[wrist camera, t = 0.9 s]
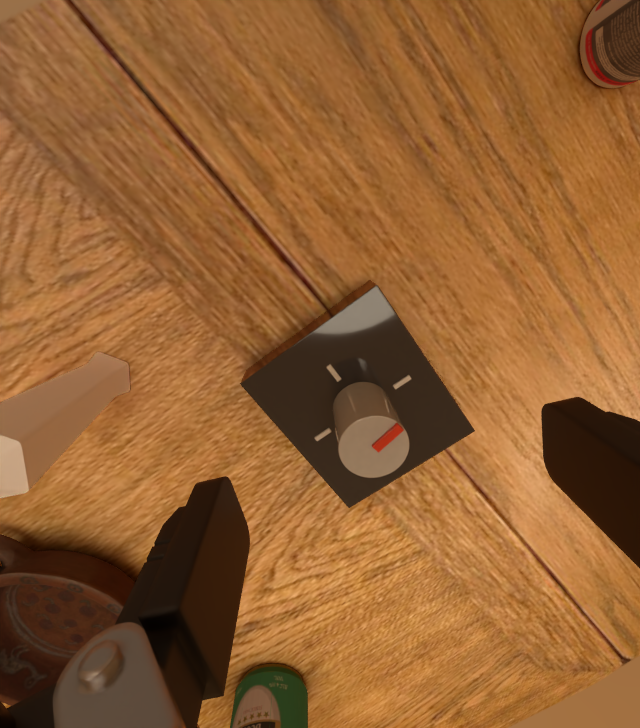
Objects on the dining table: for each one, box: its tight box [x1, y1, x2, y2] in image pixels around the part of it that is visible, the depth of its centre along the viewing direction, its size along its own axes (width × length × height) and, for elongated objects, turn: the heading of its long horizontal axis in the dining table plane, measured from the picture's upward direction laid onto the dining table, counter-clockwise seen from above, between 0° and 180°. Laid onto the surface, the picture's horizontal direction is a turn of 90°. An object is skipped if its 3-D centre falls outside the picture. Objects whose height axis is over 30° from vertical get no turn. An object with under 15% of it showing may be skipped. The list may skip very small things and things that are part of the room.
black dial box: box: [240, 280, 475, 508], centre depth 30 cm, size 14×12×3 cm
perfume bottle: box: [0, 352, 130, 498], centre depth 23 cm, size 5×4×15 cm
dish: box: [0, 534, 135, 706], centre depth 35 cm, size 18×22×5 cm
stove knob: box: [333, 382, 409, 478], centre depth 26 cm, size 4×4×6 cm
